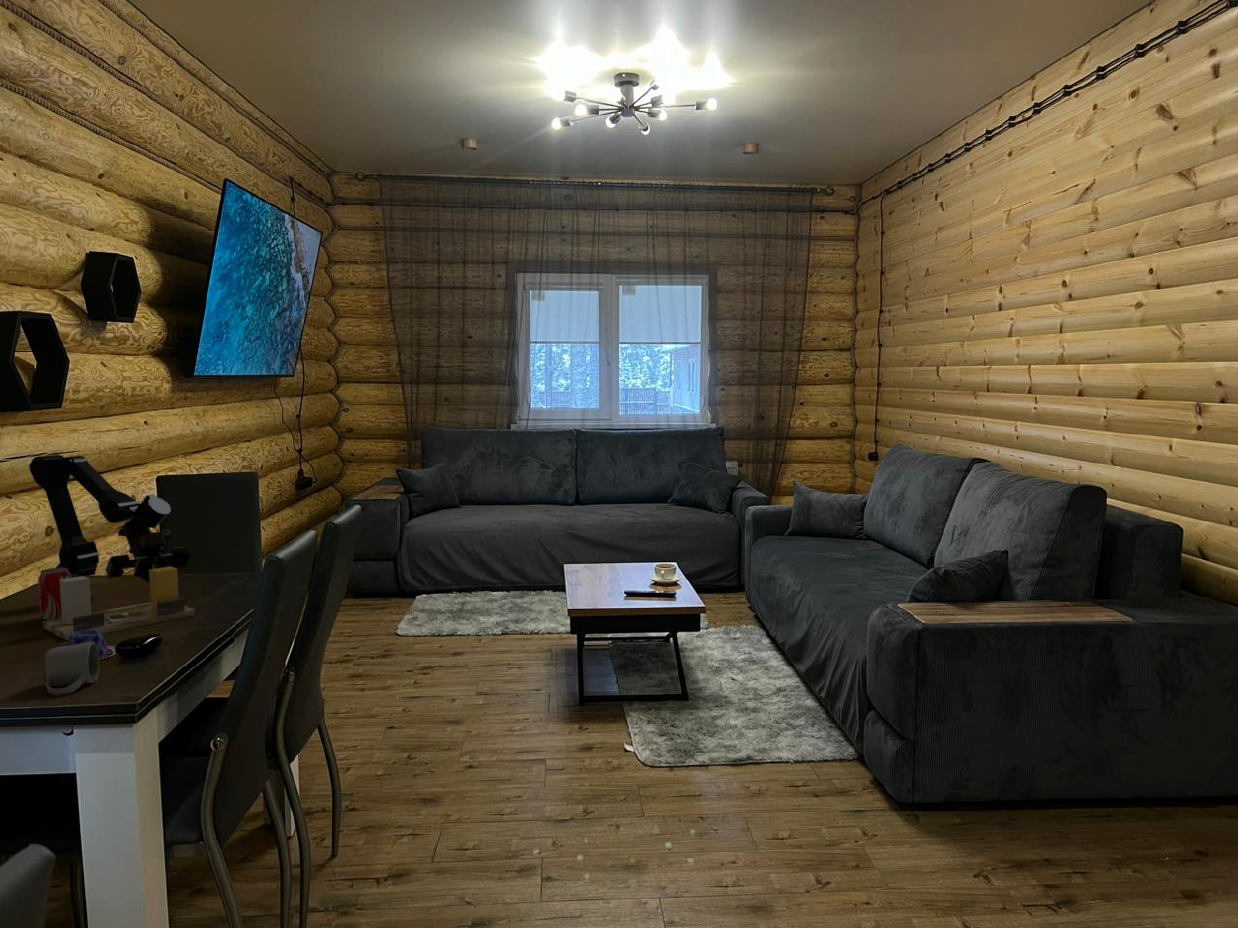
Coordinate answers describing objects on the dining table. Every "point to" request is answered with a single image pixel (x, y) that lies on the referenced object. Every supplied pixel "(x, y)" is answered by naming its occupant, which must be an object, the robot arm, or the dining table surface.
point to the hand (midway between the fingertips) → (160, 588)
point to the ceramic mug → (70, 667)
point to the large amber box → (163, 585)
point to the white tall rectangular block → (75, 598)
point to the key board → (121, 618)
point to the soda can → (51, 592)
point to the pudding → (91, 637)
